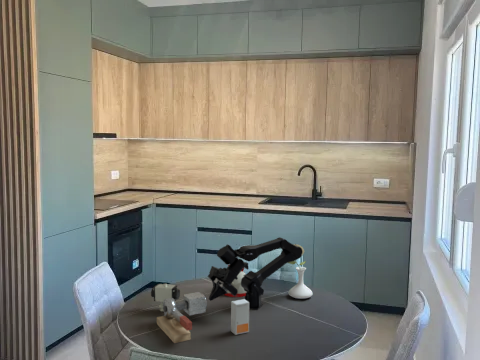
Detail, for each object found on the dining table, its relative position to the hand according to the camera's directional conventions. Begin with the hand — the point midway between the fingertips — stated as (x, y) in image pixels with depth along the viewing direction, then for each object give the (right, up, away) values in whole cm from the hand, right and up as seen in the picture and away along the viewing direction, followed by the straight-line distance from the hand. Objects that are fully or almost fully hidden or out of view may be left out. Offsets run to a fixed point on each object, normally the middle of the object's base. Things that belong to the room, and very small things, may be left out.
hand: (209, 300), depth 188 cm
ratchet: (-9, -5, -14) cm, 17 cm away
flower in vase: (+41, -5, +24) cm, 48 cm away
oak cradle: (-13, -8, -15) cm, 21 cm away
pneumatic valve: (-19, -6, +6) cm, 21 cm away
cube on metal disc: (-6, -4, -3) cm, 7 cm away
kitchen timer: (+11, -5, +30) cm, 32 cm away
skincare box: (+13, -8, -16) cm, 22 cm away
